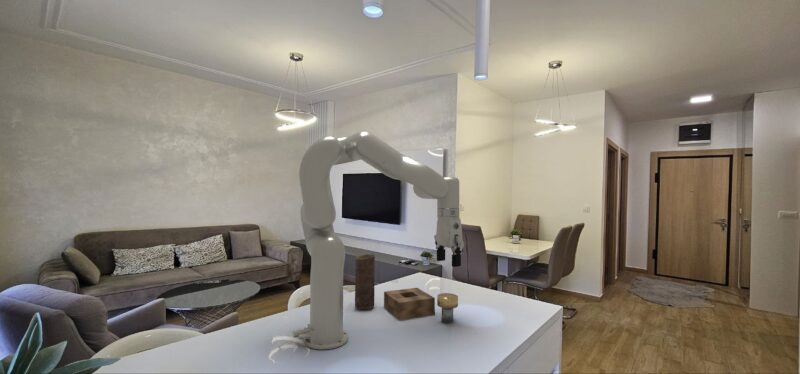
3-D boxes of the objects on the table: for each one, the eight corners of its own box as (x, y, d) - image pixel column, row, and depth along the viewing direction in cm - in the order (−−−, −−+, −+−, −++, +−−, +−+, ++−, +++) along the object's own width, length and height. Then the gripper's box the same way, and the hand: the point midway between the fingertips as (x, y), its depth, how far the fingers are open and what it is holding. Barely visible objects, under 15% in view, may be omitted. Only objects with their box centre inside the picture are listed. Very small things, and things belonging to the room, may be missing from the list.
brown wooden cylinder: (373, 312, 126) (373, 257, 127) (353, 311, 127) (353, 256, 127) (375, 305, 134) (375, 253, 134) (356, 304, 134) (356, 253, 134)
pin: (443, 326, 114) (444, 300, 114) (433, 319, 120) (433, 294, 120) (461, 323, 117) (462, 297, 117) (450, 316, 123) (450, 292, 123)
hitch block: (398, 320, 119) (399, 302, 119) (383, 307, 131) (384, 291, 131) (434, 314, 124) (434, 297, 124) (417, 302, 137) (417, 287, 137)
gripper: (472, 214, 112) (472, 267, 112) (444, 211, 128) (444, 257, 128) (452, 215, 109) (452, 270, 109) (426, 212, 125) (426, 259, 125)
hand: (448, 263), depth 119 cm, fingers open, 9 cm apart
